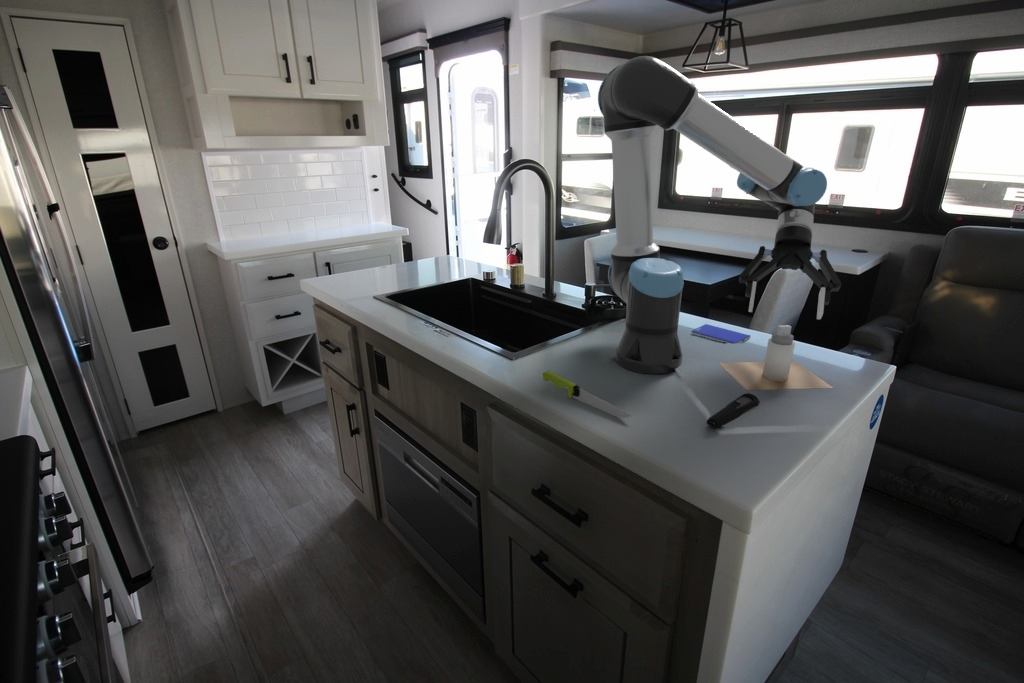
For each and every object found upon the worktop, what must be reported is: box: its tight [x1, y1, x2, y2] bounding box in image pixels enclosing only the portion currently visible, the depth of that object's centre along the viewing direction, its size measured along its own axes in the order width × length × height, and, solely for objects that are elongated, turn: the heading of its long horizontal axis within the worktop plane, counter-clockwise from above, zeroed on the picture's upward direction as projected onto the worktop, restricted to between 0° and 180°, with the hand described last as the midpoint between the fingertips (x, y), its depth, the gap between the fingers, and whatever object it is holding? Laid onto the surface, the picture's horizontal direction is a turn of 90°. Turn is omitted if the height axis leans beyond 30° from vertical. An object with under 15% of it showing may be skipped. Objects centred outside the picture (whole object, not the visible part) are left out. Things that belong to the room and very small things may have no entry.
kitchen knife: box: [542, 370, 633, 419], centre depth 101 cm, size 22×1×3 cm, turn 43°
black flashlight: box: [706, 392, 761, 430], centre depth 95 cm, size 4×16×3 cm, turn 130°
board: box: [718, 360, 834, 391], centre depth 111 cm, size 18×14×1 cm
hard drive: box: [690, 323, 751, 345], centre depth 136 cm, size 2×8×12 cm
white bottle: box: [762, 324, 796, 382], centre depth 107 cm, size 5×5×12 cm
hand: (784, 312), depth 112 cm, fingers open, 13 cm apart
